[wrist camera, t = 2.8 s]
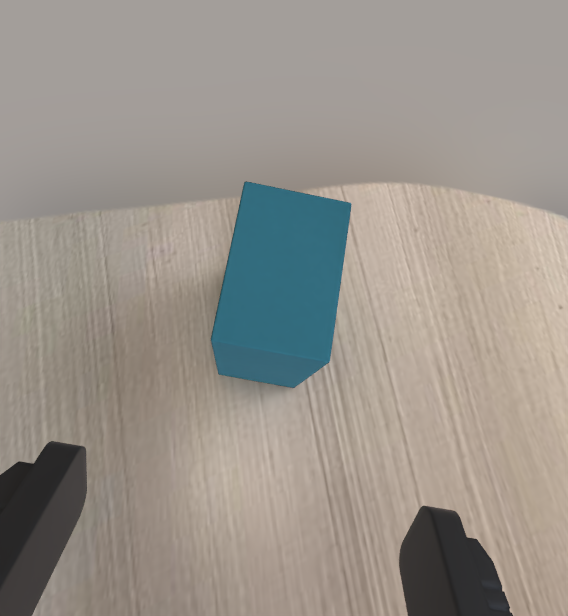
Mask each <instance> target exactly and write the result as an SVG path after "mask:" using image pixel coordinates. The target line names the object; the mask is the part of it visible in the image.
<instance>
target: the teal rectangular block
mask: <svg viewBox="0 0 568 616" xmlns="http://www.w3.org/2000/svg"><path fill="white" fill-rule="evenodd" d="M350 212H351V203H348V202H343V201H338V200H334V199H329V198H324V197H319V196H314V195H309V194H305V193H300V192H295V191H290V190H285V189H280V188H275V187H271V186H265V185H261V184H256V183H251V182H245V183H244V186H243V191H242V196H241V200H240V205H239V210H238V214H237V219H236V224H235V228H234V233H233V238H232V242H231V247H230V252H229V256H228V261H227V266H226V270H225V275H224V280H223V284H222V289H221V294H220V298H219V303H218V308H217V312H216V317H215V322H214V326H213V331H212V336H211V342H212V347H213V351H214V356H215V360H216V365H217V369H218V374H219V375H225V376H230V377H236V378H242V379H247V380H253V381H258V382H264V383H269V384H275V385H280V386H286V387H292V388H294V387H296V386H297V385H298V384H300V383H301V382H303V381H304V380H305V379H307V378H308V377H309V376H311V375H312V374H314V373H315V372H316V371H318V370H319V369H320V368H322V367H323V366H325V365H326V364H327V363H329V361H330V356H331V349H332V341H333V334H334V327H335V320H336V313H337V305H338V298H339V291H340V284H341V276H342V269H343V262H344V255H345V248H346V240H347V233H348V226H349V219H350Z"/></svg>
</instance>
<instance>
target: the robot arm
mask: <svg viewBox="0 0 568 616" xmlns="http://www.w3.org/2000/svg"><path fill="white" fill-rule="evenodd" d="M86 493H87V471H86V448H85V447H83V446H78V445H72V444H66V443H60V442H54V441H51V442H49V443H48V444H47V445H46V446H45V447H44V449H43V450H42V452H41V453H40V455H39V456H38V458H37V459H36V461H35V463H34V464H31V463H25V462H17V463H16V464H15V465H13V466H12V467H11V468H9V469H8V470H6V471H5V472H4V473H2V474H1V475H0V616H32V614H33V612H34V610H35V608H36V606H37V604H38V601H39V599H40V597H41V595H42V593H43V591H44V589H45V587H46V585H47V583H48V581H49V579H50V577H51V575H52V573H53V571H54V569H55V566H56V564H57V562H58V560H59V558H60V556H61V554H62V552H63V550H64V548H65V546H66V544H67V542H68V540H69V538H70V536H71V534H72V531H73V529H74V527H75V525H76V523H77V521H78V519H79V517H80V514H81V512H82V509H83V506H84V503H85V498H86ZM399 566H400V574H401V579H402V585H403V590H404V596H405V601H406V607H407V612H408V616H513V615H512V613H510V611H509V608H510V607H509V604H508V601H507V599H506V596H505V593H504V592H502V585H501V582H500V580H499V577H498V574H497V571H496V569H495V566H494V563H493V561H492V560H491V558H490V557H489V556H488V554H487V553H486V551H485V550H484V549H483V547H482V546H481V544H480V543H479V542H478V540H477V539H473V538H467V537H466V534H465V531H464V528H463V525H462V522H461V519H460V517H459V515H458V514H457V513H456V512H455V511H452V510H446V509H441V508H435V507H429V506H422V507H421V508H420V510H419V512H418V514H417V515H416V517H415V519H414V521H413V523H412V525H411V527H410V529H409V531H408V533H407V535H406V536H405V538H404V540H403V542H402V545H401V549H400V556H399Z"/></svg>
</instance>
